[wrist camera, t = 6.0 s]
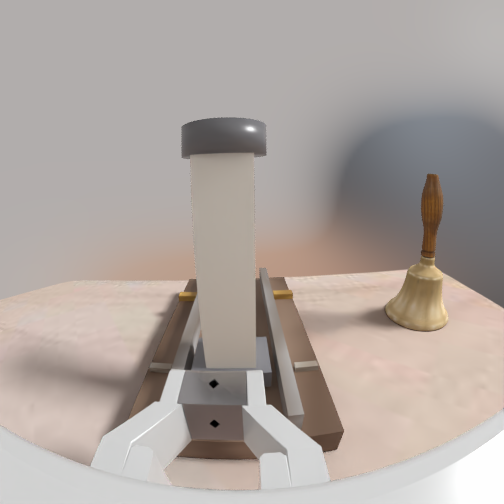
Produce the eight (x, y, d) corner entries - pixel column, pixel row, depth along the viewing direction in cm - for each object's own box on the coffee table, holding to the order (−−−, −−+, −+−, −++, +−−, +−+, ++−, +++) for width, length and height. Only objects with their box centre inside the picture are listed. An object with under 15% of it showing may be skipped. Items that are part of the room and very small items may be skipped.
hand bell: (411, 338, 23) (435, 171, 18) (372, 304, 31) (384, 169, 26) (459, 322, 24) (483, 181, 19) (420, 296, 32) (434, 176, 27)
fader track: (133, 449, 12) (114, 414, 11) (191, 293, 35) (188, 268, 34) (336, 449, 12) (350, 414, 11) (283, 291, 35) (283, 266, 34)
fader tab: (192, 388, 15) (168, 121, 11) (200, 349, 19) (186, 135, 15) (271, 388, 15) (274, 117, 11) (265, 348, 19) (265, 132, 15)
